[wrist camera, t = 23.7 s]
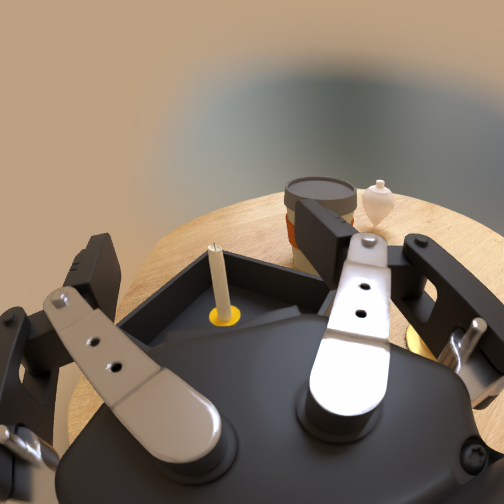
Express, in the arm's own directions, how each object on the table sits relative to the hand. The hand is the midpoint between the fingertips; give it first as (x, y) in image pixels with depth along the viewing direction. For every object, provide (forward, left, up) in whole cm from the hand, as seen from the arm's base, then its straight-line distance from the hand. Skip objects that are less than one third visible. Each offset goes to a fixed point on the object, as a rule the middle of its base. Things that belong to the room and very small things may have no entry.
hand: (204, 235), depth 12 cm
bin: (-10, +13, -26) cm, 30 cm away
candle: (-10, +12, -25) cm, 29 cm away
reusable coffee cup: (-7, +37, -26) cm, 46 cm away
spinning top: (+1, +56, -26) cm, 62 cm away
